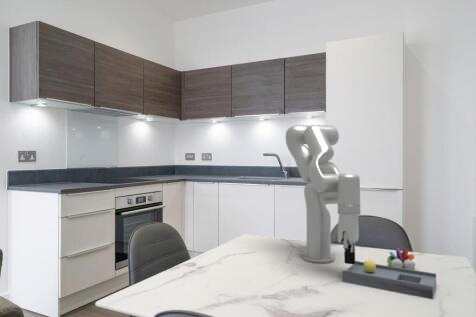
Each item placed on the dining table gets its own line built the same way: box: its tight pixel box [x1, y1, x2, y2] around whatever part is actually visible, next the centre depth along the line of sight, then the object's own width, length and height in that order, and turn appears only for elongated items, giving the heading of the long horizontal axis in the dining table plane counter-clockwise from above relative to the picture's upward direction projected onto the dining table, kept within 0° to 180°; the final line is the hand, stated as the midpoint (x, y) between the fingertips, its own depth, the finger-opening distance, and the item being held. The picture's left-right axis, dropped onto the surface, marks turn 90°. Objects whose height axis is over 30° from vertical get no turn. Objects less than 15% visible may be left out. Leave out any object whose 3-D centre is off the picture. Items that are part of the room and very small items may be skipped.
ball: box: [363, 259, 376, 272], centre depth 116 cm, size 4×4×4 cm
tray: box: [342, 260, 437, 300], centre depth 113 cm, size 26×14×4 cm, turn 57°
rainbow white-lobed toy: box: [386, 247, 416, 270], centre depth 129 cm, size 8×10×7 cm
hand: (349, 263), depth 119 cm, fingers closed
